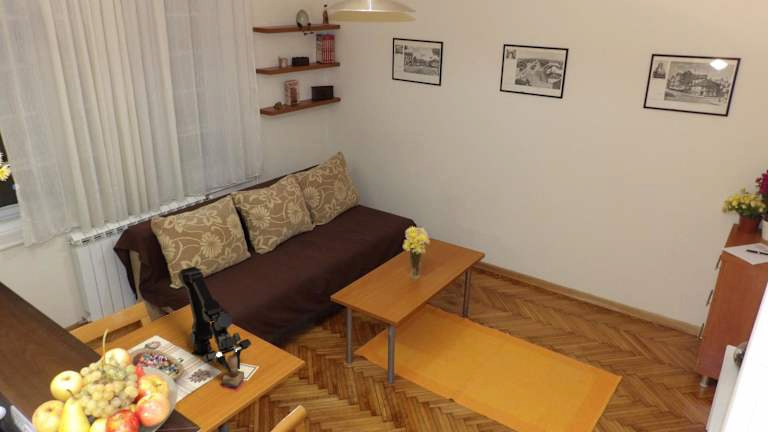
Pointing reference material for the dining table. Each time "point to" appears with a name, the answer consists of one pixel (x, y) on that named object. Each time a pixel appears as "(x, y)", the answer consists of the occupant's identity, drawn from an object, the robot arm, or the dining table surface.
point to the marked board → (247, 370)
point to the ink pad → (233, 387)
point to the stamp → (233, 373)
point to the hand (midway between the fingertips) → (234, 370)
